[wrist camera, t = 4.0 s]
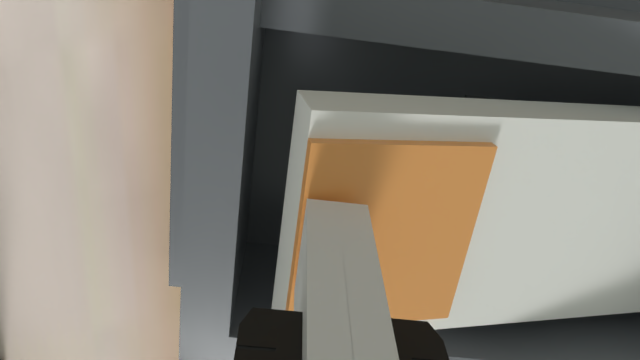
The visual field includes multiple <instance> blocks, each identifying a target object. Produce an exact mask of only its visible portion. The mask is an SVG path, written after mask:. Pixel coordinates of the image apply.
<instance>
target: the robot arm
mask: <svg viewBox="0 0 640 360" xmlns="http://www.w3.org/2000/svg"><path fill="white" fill-rule="evenodd" d="M234 360H449V357H448V354H447V350H446V347H445V344H444V341H443V339H442V338H441V337H440V336H439V334H438V333H437V332H436V331H435V330H434V328H433V327H432V326H431V325H430V324H429V322H427V321H416V320H405V319H394V318H391V316H390V312H389V307H388V302H387V297H386V292H385V287H384V282H383V277H382V272H381V267H380V262H379V258H378V253H377V248H376V243H375V238H374V233H373V228H372V223H371V218H370V213H369V208H368V205H364V204H354V203H345V202H335V201H326V200H316V199H307V201H306V209H305V216H304V223H303V230H302V238H301V245H300V252H299V259H298V267H297V274H296V281H295V289H294V311H287V310H276V309H265V308H254V307H253V308H252V309H251V310H250V311H249V313H248V314H247V315H246V316H245V318H244V319H243V320H242V321H241V323H240V324H239V329H238V335H237V342H236V349H235V354H234Z"/></svg>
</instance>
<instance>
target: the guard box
mask: <svg viewBox="0 0 640 360" xmlns="http://www.w3.org/2000/svg"><path fill="white" fill-rule="evenodd" d="M297 90H312V91H332V92H353V93H374V94H395V95H416V96H437V97H458V98H478V99H499V100H520V101H541V102H562V103H583V104H604V105H625V106H640V0H174V25H173V81H172V136H171V192H170V247H169V286H176V287H181V305H180V339H179V360H234V354H235V349H236V342H237V335H238V329H239V324H240V323H241V321H242V320H243V319H244V318H245V316H246V315H247V314H248V313H249V311H250V310H251V309H252V308H253V307H254V308H265V309H271V308H272V299H273V291H274V282H275V274H276V265H277V257H278V248H279V240H280V231H281V223H282V214H283V206H284V197H285V189H286V180H287V172H288V163H289V155H290V146H291V138H292V129H293V121H294V112H295V104H296V95H297ZM435 331H436V332H437V333H438V334H439V336H440V337H441V338H442V339H443V341H444V344H445V347H446V350H447V354H448V357H449V360H640V312H633V313H621V314H610V315H598V316H587V317H575V318H563V319H552V320H540V321H529V322H517V323H505V324H494V325H482V326H471V327H459V328H447V329H436V330H435Z"/></svg>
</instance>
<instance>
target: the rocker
mask: <svg viewBox="0 0 640 360" xmlns="http://www.w3.org/2000/svg"><path fill="white" fill-rule="evenodd" d="M307 199H316V200H326V201H335V202H345V203H354V204H364V205H368V208H369V213H370V218H371V223H372V228H373V233H374V238H375V243H376V248H377V253H378V258H379V262H380V267H381V272H382V277H383V282H384V287H385V292H386V297H387V302H388V307H389V312H390V316H391V318H394V319H405V320H416V321H427V322H429V324H430V325H431V326H432V327H433V328H434V330H436V329H447V328H459V327H471V326H482V325H494V324H505V323H517V322H529V321H540V320H552V319H563V318H575V317H587V316H598V315H610V314H621V313H633V312H640V106H625V105H604V104H583V103H562V102H541V101H520V100H499V99H478V98H458V97H437V96H416V95H395V94H374V93H353V92H332V91H312V90H297V95H296V104H295V112H294V121H293V129H292V138H291V146H290V155H289V163H288V172H287V180H286V189H285V197H284V206H283V214H282V223H281V231H280V240H279V248H278V257H277V265H276V274H275V282H274V291H273V299H272V308H271V309H276V310H287V311H294V289H295V281H296V274H297V267H298V259H299V252H300V245H301V238H302V230H303V223H304V216H305V209H306V201H307Z"/></svg>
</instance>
